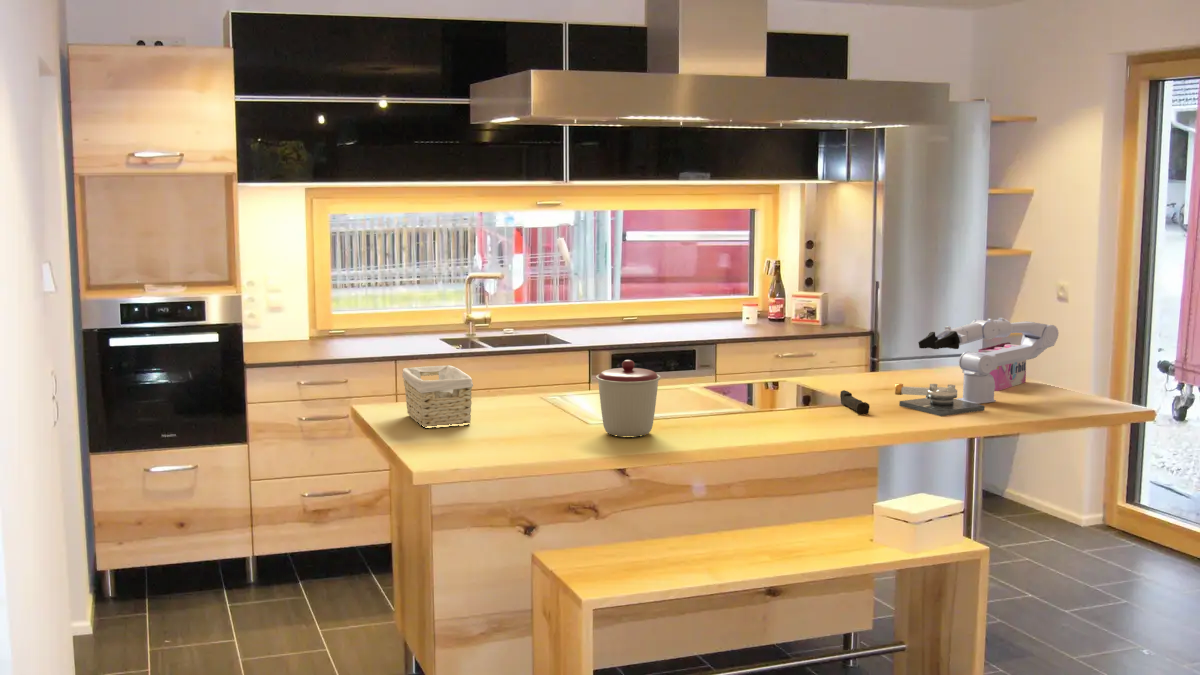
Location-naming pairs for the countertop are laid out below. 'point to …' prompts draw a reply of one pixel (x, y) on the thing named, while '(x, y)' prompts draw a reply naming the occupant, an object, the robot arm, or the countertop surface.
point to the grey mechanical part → (928, 391)
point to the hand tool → (854, 403)
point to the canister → (628, 399)
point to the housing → (942, 406)
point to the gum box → (1007, 370)
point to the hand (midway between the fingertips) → (927, 345)
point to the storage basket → (438, 395)
